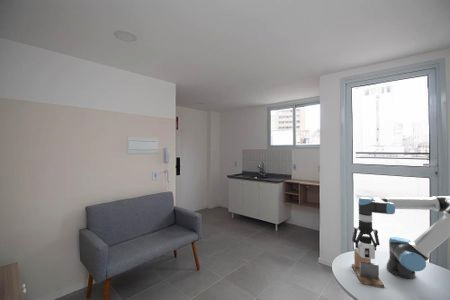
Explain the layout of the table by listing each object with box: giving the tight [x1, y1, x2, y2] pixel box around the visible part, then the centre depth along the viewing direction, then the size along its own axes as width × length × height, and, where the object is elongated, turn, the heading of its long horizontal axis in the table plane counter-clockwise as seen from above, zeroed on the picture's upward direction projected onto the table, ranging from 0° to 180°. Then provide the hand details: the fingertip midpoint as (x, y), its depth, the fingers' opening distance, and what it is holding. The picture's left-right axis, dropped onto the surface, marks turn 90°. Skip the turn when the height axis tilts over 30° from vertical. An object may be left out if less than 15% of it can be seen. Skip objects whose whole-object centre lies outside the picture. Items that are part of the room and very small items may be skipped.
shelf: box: [351, 263, 385, 288], centre depth 135 cm, size 12×21×2 cm, turn 162°
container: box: [359, 234, 376, 260], centre depth 136 cm, size 8×8×13 cm
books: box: [353, 247, 372, 267], centre depth 143 cm, size 10×2×12 cm, turn 72°
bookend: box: [360, 262, 380, 280], centre depth 131 cm, size 10×2×9 cm, turn 72°
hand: (365, 253), depth 136 cm, fingers closed on container, 8 cm apart
